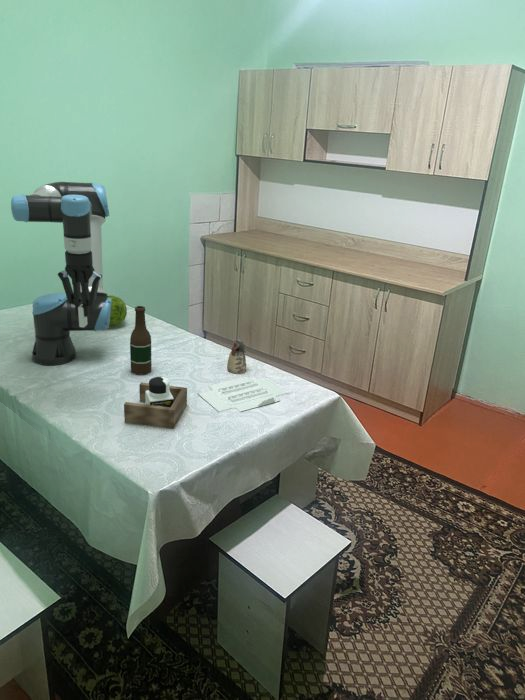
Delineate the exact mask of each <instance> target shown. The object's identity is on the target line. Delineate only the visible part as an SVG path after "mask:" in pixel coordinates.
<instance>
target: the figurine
mask: <svg viewBox="0 0 525 700" xmlns="http://www.w3.org/2000/svg"><path fill="white" fill-rule="evenodd" d="M232 343H233V345H232V347H231V351H230V353H229V356H228V359H227V362H226V365H227V366H226V367H227V371H228V372H229V373H232V374H237V375H240V374H241V375H242V374H245V373H246V372H247V371H246V370H247V360H246V359H247V358H246V354H245V353H247V350H245V343H244V341H242V340H240V339H236V340H234V341H233V342H232Z"/></svg>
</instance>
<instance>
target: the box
mask: <svg viewBox="0 0 525 700" xmlns="http://www.w3.org/2000/svg"><path fill="white" fill-rule="evenodd" d="M138 385H139V386H138V387H139V402H140V403H137V402H129V401H128V402H127V401H125V402H124V404H123V415H124V416H123V418H124V423H128V424H135V425H142V426H143V425H145V426H153V427H160V428H168V429H175V427H176V426H177V424H178V422H179V421H180V419H181V417H182V415H183V413H184V411H185V410H186V408H187V405H188V387H184V386H183V387H182V386H174V385H170V392H171V394H172V396H173V398H174V402H173V404H172V406H171V407H163V406H155V405H147V404H146V399H145V391H147V390H149V382H148V383H147V382H140V383H139V384H138ZM141 402H143V403H144V404H143V403H141Z"/></svg>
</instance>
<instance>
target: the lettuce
mask: <svg viewBox="0 0 525 700" xmlns="http://www.w3.org/2000/svg"><path fill="white" fill-rule="evenodd" d="M107 298H110V299H111V300H112V304H111V315H110V322H109V327H108V328H111V327H112V328H114V327H117V326H119V325H121V324H122V323H123V322H124V321H125V320H126V317H127V314H128V313H127V312H128V311H127V310H128V309H127V306H126V303H125V302H124V301H123V300H122V299H121V298H120V297H118V296H116V295H107Z"/></svg>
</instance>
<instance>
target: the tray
mask: <svg viewBox="0 0 525 700" xmlns="http://www.w3.org/2000/svg"><path fill="white" fill-rule="evenodd" d="M208 388H209V389H211V390H208V391H204V392H198V395H199V396H200V397H201V398H203V399H204V401H205V402H207V403H208V404H209V405H210V406H212V407H213V408H214V409H215V410H216V411H218V413H220V412H225V411H228V410H231V409H236V410H237V411H238V412H240V413H241V412H244V411H249V410H252V409H255V408H259V407H261V406H265V405H269V404H274V403H277V402H280V401H281V400H280V399H278V398H277V397H279V396H284V395H289V391H287V390H286V389H284V388H283V387H281V386H280V385H279V384H277V383H275V382H274V381H272V379H269V378H267V377H262V378H257V379H250V378H249V377H247V376H245V377H241V378H236V379H231V380H229V381H228V380H227V381H223V382H220V383H219V382H218V383H215V384H209V385H208Z"/></svg>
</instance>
